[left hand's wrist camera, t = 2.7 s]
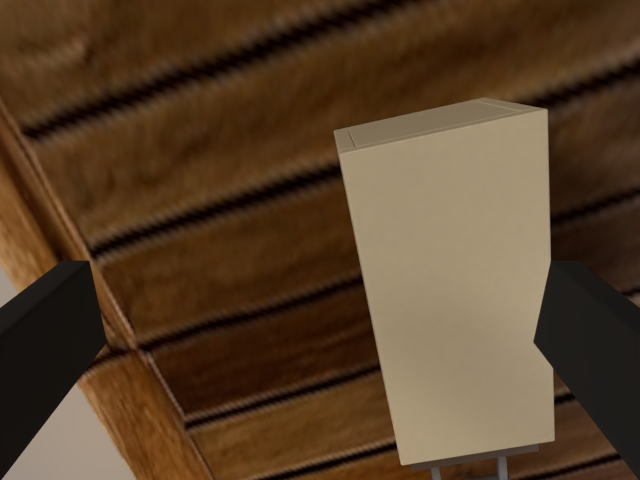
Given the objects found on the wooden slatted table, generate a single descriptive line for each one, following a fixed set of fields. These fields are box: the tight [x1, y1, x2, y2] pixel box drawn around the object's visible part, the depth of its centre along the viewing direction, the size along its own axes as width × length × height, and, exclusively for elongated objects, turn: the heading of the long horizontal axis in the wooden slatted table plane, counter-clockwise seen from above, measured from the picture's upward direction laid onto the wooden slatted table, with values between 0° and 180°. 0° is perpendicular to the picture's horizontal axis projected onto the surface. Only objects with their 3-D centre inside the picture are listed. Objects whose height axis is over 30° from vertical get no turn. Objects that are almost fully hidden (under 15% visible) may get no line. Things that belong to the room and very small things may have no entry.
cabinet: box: [334, 97, 555, 465], centre depth 28 cm, size 21×10×8 cm, turn 12°
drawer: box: [410, 443, 539, 480], centre depth 30 cm, size 26×9×6 cm, turn 12°
